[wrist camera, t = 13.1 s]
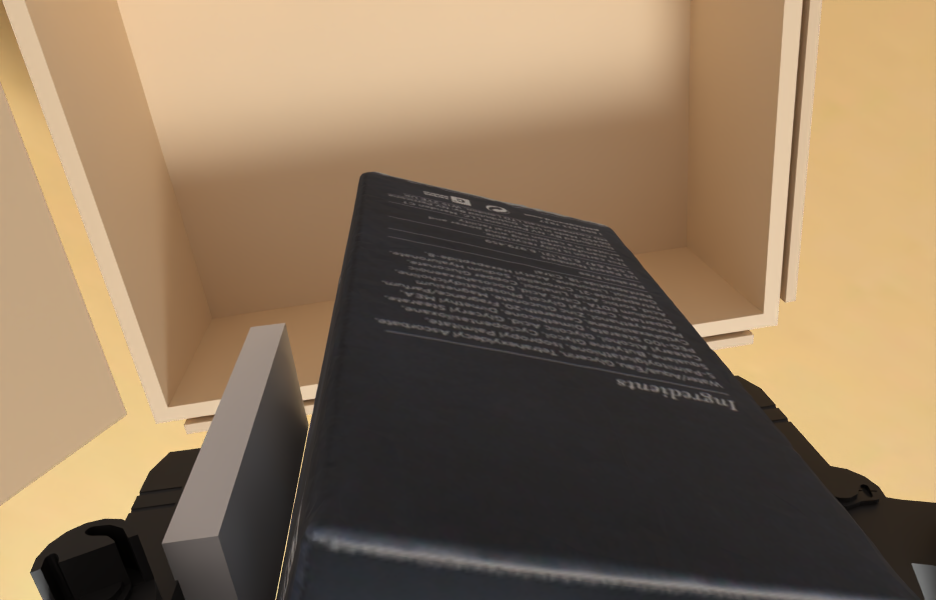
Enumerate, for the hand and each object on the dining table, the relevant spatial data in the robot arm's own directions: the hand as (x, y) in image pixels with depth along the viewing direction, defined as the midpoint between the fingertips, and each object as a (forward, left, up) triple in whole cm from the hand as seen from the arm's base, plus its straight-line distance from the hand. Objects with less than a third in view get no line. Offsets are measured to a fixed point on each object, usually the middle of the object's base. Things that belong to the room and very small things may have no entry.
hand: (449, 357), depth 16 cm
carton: (+1, +2, -18) cm, 18 cm away
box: (0, 0, -1) cm, 1 cm away
